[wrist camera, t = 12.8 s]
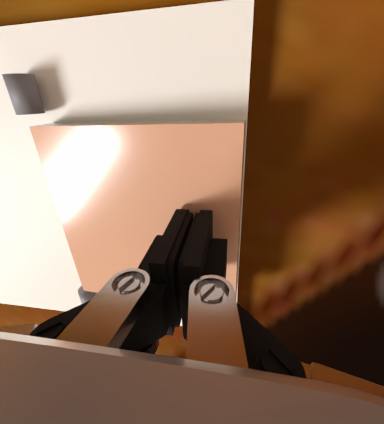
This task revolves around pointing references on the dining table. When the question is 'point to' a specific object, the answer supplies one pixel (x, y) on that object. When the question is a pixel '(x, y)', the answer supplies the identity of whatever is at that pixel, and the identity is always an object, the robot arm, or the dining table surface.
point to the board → (103, 113)
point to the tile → (140, 186)
